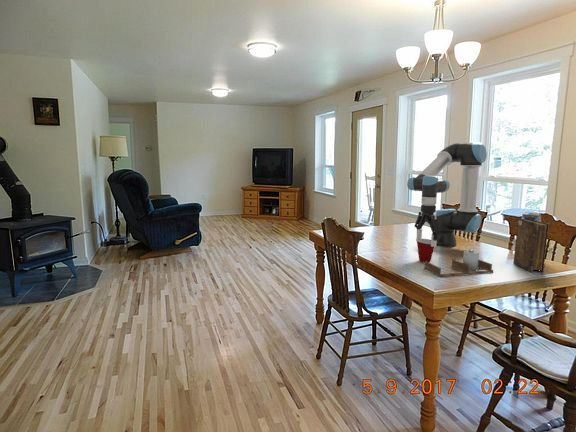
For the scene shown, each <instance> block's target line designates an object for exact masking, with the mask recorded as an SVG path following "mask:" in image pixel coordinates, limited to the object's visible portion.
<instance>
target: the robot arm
mask: <svg viewBox="0 0 576 432" xmlns="http://www.w3.org/2000/svg"><path fill="white" fill-rule="evenodd" d="M486 148H487V147H486V146H485V145H484V144H483V143H482V142H475V141H474V142H456V143H453V144H450V145H448V146H446V147H445V148H443V149H442V150H440V151H439V152H438V153H437V156H436V157H435V159H434V160H433V161H431V163H429V164H428V166H426V167H425V168H424V169H423V170H422V171H421V172H420V173H419V174H418V175H417V176H416V177H410V178H409V179H407V181H406V182H407V183H406V185H407V188H408V190H409V191H414V192H421V201H420V203H421V205H420V211H419V212H418V216H417V218H416V221H415V224H414V228H416V239H420V238H421V239H423V238H422V237H423V226H424V225H425V223H427V224H428V225H429V228H430V230H431V232H432V233H431V239H430V240H431V246H432V247H433V246H435V247H437V246H438V247H443V248H445V247H446V248H448V247H449V248H452V247H453V248H454V247H456V246H457V238H456V236H455V231H459V232H464V233H476V232H477V231H478V230H479V228H480V227H481V224H482V215H481V214H479V210H478V209H477V208H476V205H477V204H476V203H477V193H478V182H479V181H478V180H479V179H478V178H479V169H480V168H481V167H482V165H483V164H484V163H485V162H486V161H487V155H488V153H487V149H486ZM452 163H460V164H459V165H460V167H461V168H462V173H461V174H462V175H461V176H462V177H461V187H460V200H459V201H460V203H459V207H458V209H456V208H445V209H444V208H443V209H437V195H438V194H439V193H441V194H442V193H445V192H447V191H448V190H449V189H450V186H451V185H450V184H451V183H450V182H449V180H448V179H446V178H439V177H438V176H437V175H439V174H440V173H441V172H442V171H443V170H444V169H445V168H446V167H447V166H450V165H451V164H452ZM416 239H415V240H416Z"/></svg>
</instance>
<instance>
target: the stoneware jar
mask: <svg viewBox="0 0 576 432" xmlns="http://www.w3.org/2000/svg"><path fill="white" fill-rule="evenodd" d="M479 257H480V252H479V251H477V250H474V249H472V248H471V249H467V250H463V258H462V263H464V264H466V265H469V266H470V267H469V270H471V271H476V270H477V271H478V270H479V267H478V260H479V259H480V258H479Z"/></svg>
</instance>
